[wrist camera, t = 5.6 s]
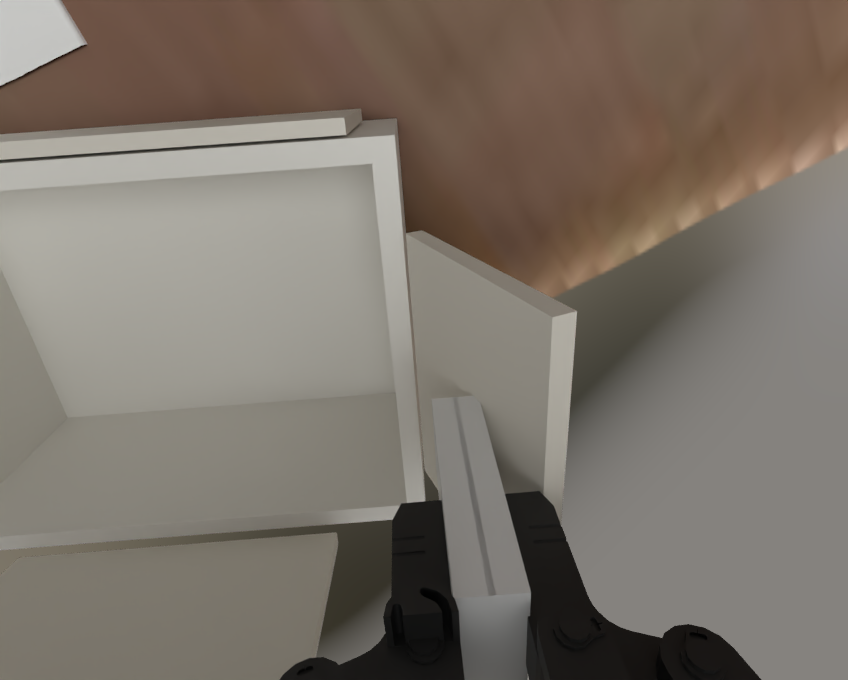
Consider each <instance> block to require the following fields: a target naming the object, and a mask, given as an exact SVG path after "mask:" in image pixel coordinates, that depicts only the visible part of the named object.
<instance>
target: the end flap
mask: <svg viewBox="0 0 848 680" xmlns="http://www.w3.org/2000/svg"><path fill="white" fill-rule="evenodd" d="M406 243H407V255H408V268H409V280H410V293H411V305H412V318H413V330H414V342H415V355H416V367H417V380H418V392H419V405H420V417H421V429H422V441H423V454H424V467H425V471H426V473H427V474H428V476H429V477H430V479H431V480H432V482H433V483H434V485H435V486H436V488H437V489H438V482H437V472H436V457H435V442H434V427H433V412H432V399H437V398H450V397H464V396H474V397H475V398H476V399H477V400H478V401H479V402H480V403H481V407H482V411H483V414H484V418H485V422H486V426H487V429H488V433H489V437H490V441H491V444H492V448H493V452H494V456H495V459H496V463H497V467H498V471H499V474H500V478H501V482H502V486H503V489H504V493H505V494H508V493H521V492H533V491H540V492H541V493H542V494H543V495H544V496H545V497H546V498H547V499H548V500H549V501H550V502H551V503H552V504H553V505H554V508H555V510H556V513H557V516H558V518H559V521H560V525H561V521H562V520H561V519H562V507H563V494H564V479H565V466H566V453H567V452H566V451H567V440H568V426H569V413H570V399H571V386H572V372H573V359H574V345H575V331H576V318H577V311H576V310H574V309H572V308H570V307H568V306H566V305H564V304H562V303H560V302H559V301H557V300H555V299H553V298H551V297H549V296H547V295H545V294H543V293H541V292H539V291H538V290H536V289H534V288H532V287H530V286H528V285H526V284H524V283H522V282H520V281H518V280H516V279H515V278H513V277H511V276H509V275H507V274H505V273H503V272H501V271H499V270H497V269H495V268H493V267H492V266H490V265H488V264H486V263H484V262H482V261H480V260H478V259H476V258H474V257H472V256H470V255H469V254H467V253H465V252H463V251H461V250H459V249H457V248H455V247H453V246H451V245H449V244H448V243H446V242H444V241H442V240H440V239H438V238H436V237H434V236H432V235H430V234H428V233H426V232H425V231H423V230H422V231H416V232H410V233H406Z"/></svg>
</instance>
